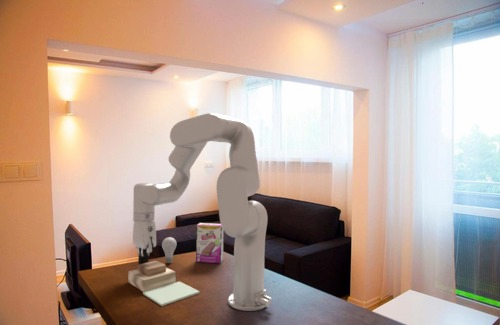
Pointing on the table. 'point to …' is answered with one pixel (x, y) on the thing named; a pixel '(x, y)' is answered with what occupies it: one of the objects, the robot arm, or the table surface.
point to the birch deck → (151, 279)
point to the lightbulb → (169, 248)
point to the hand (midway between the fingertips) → (143, 265)
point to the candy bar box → (209, 243)
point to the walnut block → (151, 268)
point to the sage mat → (170, 293)
